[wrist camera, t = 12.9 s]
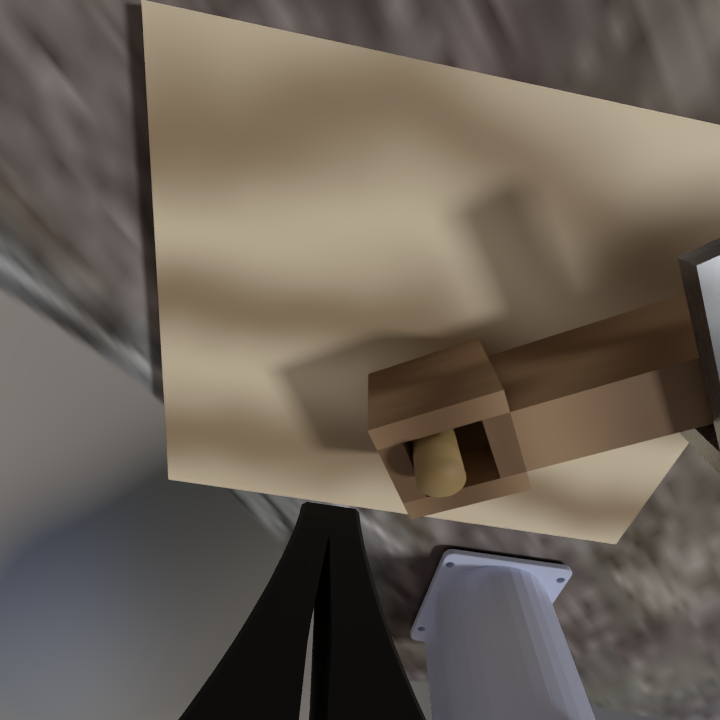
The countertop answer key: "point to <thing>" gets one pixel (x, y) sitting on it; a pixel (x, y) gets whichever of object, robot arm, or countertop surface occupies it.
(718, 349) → the block
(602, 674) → the countertop surface
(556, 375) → the link
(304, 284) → the board
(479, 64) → the countertop surface
